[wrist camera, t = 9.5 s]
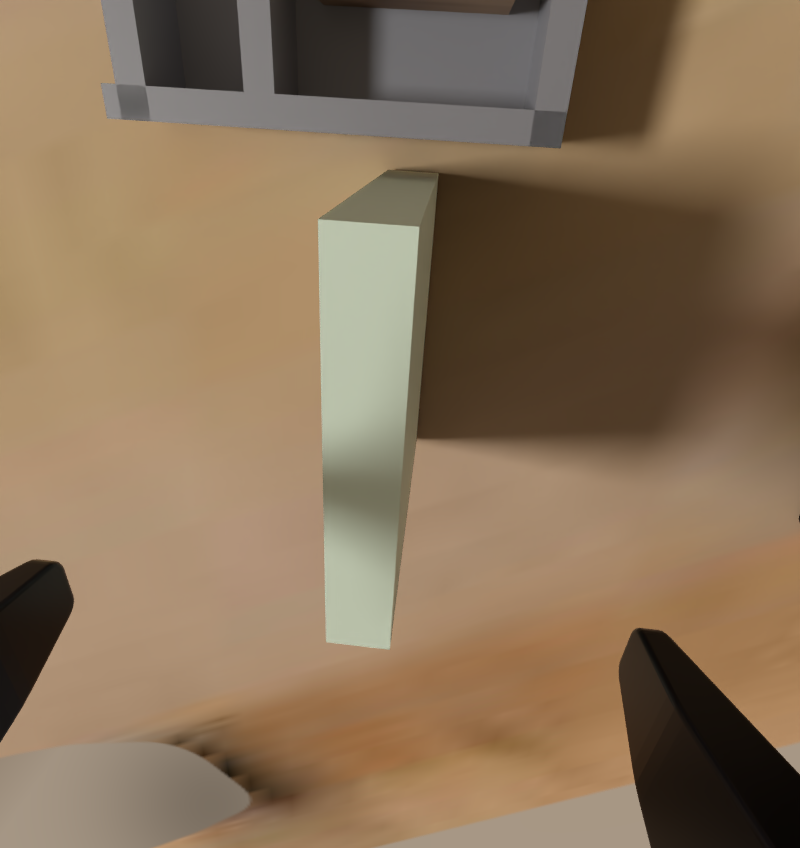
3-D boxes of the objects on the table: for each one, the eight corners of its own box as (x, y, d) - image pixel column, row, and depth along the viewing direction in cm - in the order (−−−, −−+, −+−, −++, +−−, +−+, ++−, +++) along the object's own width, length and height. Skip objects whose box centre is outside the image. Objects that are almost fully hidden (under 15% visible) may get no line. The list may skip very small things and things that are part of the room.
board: (438, 173, 17) (419, 226, 8) (416, 441, 22) (389, 649, 13) (388, 169, 17) (318, 219, 8) (377, 437, 22) (326, 642, 13)
